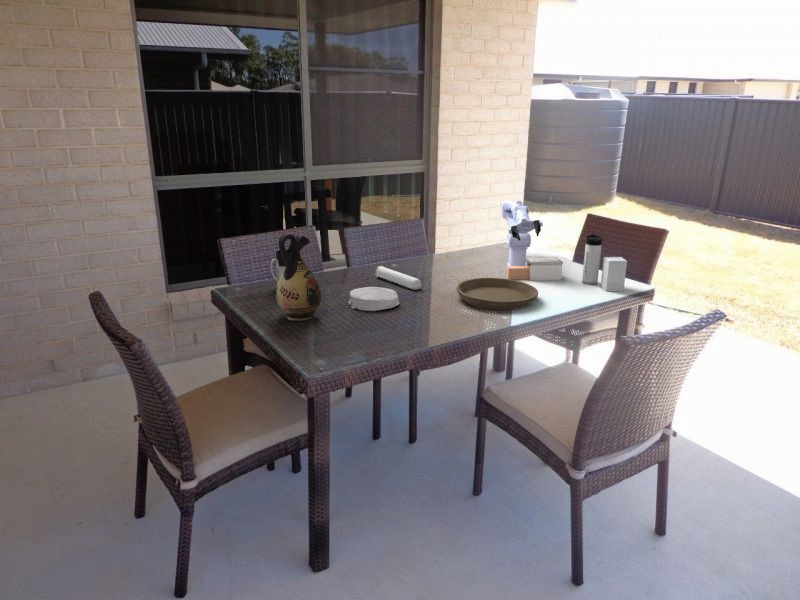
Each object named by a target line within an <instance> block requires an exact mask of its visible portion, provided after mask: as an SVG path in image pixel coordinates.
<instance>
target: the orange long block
mask: <svg viewBox="0 0 800 600" xmlns="http://www.w3.org/2000/svg"><path fill="white" fill-rule="evenodd" d="M529 275H530V266H508V265H506V271H505V277H506V279H511V280H529Z"/></svg>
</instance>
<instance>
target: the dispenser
mask: <svg viewBox="0 0 800 600" xmlns="http://www.w3.org/2000/svg"><path fill="white" fill-rule="evenodd" d="M524 261H525V262H526V264H525V265H526V266H530V275H529V279H530V280H529V279H528V280H529V281H560V280H561V281H562V276H563V275H562V274H563V267H564V266H563V263H564V261H562V260H561V259H560V258H559V257H558V256H549V257H548V256H547V257H546V256H545V257H544V256H538V257H535V256H534V257H533V256H532V257H531V256H529V257H527V256H526V258H524Z"/></svg>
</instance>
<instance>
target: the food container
mask: <svg viewBox="0 0 800 600" xmlns="http://www.w3.org/2000/svg"><path fill="white" fill-rule="evenodd" d="M349 297H350V298H349V301H348V305H350V306H351V307H350V308H352V309H353V310H354V309H358V310H360V311H367V312H368V311H370V312H376V311H382V310H387V309H392V308H395V307H397V306H399V305H400V300H399V294H398V293H397V291H395V290H394V289H392V288H386V287H383V286H382V287H378V286H367V287H366V286H364V287H358V288H354V289H352V290H350V291H349Z"/></svg>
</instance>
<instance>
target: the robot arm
mask: <svg viewBox="0 0 800 600" xmlns="http://www.w3.org/2000/svg"><path fill="white" fill-rule="evenodd" d="M529 210H530V209H529V206H528V205H523V202H522V200H502V201H501V202H500V215H501V216H502V218H503V219H504V220H506V222H507V224H508V228H507V229H508V230H507V231H508V233H507V238H506V239H507V247H508V248H509V249H508V250H509V251H508V262H506V266H526V262H525V261H524V258H527V250H528V248H530V246H531V243H532V236H531V234H530V233H531V232H532V231H533V230H535V231H534V232H535V234H536V237H539V236H540V235H539V234H540V232H541V231H542V229H541V228H542V227H543V221H542V220H538V219H534V220H533V219H532V220H531V219H530V216H529ZM529 232H530V233H529Z"/></svg>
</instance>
